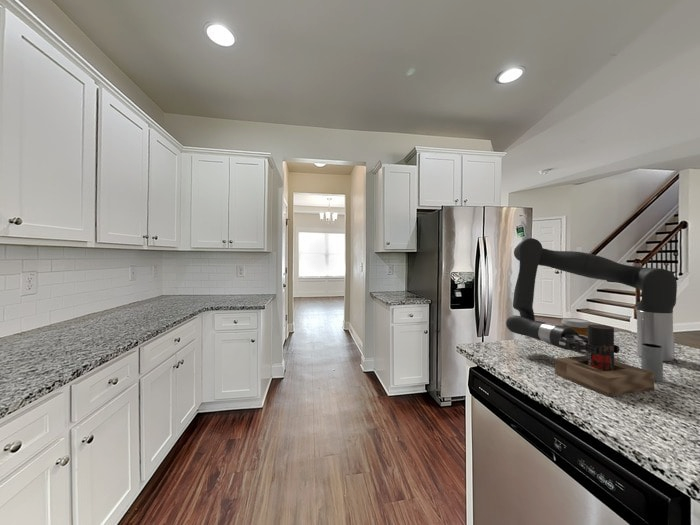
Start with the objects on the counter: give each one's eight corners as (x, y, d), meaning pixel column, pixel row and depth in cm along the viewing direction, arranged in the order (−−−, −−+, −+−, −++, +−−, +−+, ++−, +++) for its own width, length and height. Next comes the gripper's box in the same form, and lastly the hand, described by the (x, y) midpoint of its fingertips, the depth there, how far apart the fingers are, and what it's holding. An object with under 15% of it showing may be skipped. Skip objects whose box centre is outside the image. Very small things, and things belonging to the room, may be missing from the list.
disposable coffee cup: (578, 353, 112) (578, 323, 112) (555, 346, 121) (555, 318, 121) (597, 351, 114) (597, 321, 114) (573, 344, 124) (573, 317, 123)
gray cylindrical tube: (667, 382, 86) (667, 347, 85) (649, 381, 86) (649, 347, 86) (654, 376, 90) (654, 343, 90) (637, 375, 91) (637, 342, 91)
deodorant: (582, 372, 89) (582, 324, 89) (600, 371, 90) (600, 324, 90) (600, 380, 84) (600, 329, 83) (619, 379, 84) (619, 328, 84)
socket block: (594, 369, 96) (594, 354, 96) (654, 390, 80) (653, 372, 80) (555, 373, 93) (554, 358, 93) (608, 396, 77) (608, 378, 77)
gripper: (540, 326, 99) (590, 339, 83) (574, 323, 102) (628, 336, 86) (540, 347, 99) (590, 365, 83) (574, 344, 102) (628, 361, 86)
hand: (609, 350), depth 84 cm, fingers closed on deodorant, 6 cm apart
